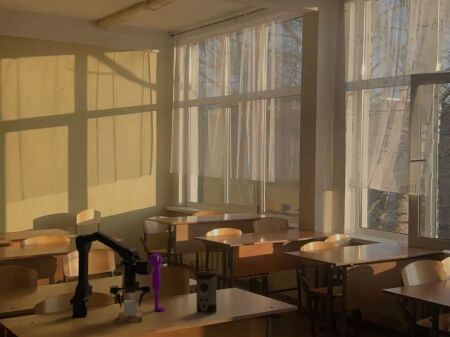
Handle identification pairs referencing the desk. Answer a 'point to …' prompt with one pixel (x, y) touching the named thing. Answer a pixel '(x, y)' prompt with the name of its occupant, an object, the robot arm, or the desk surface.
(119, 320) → the walnut block
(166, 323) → the desk surface
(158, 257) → the toy
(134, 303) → the cube
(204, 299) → the electronic device
